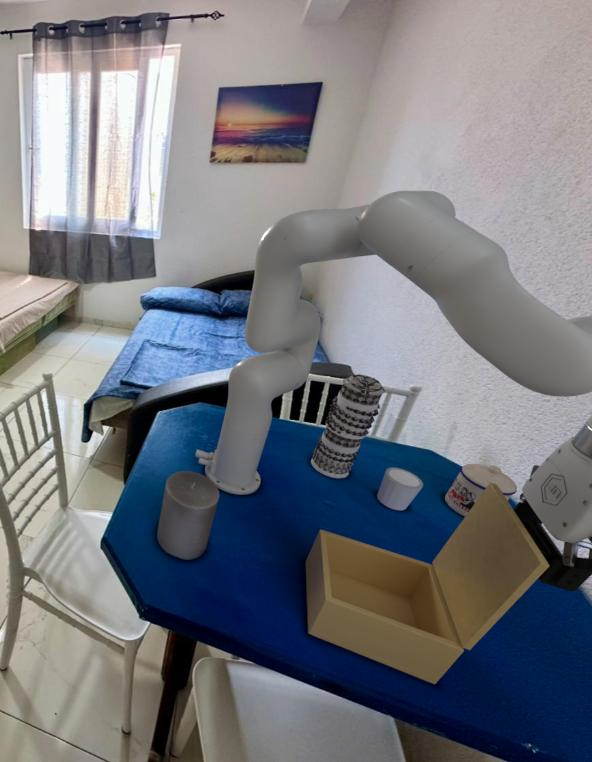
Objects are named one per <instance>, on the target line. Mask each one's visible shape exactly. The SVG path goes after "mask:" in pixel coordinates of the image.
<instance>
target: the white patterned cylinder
mask: <svg viewBox="0 0 592 762" xmlns="http://www.w3.org/2000/svg"><path fill="white" fill-rule="evenodd" d="M385 392H386V389H385V388H384V387H383V386H382V383H381V382H380V381H379V380H378V379H376V378H374V377H372V376H369V375H365V374H352V375H351V376H349V377H345V378H343V379H342V386H341V389H340V390H339V391H338V394H337V396H335V397H334V398H333V399H332V402H331V404H330V408H329V412H328V413H327V417H326V418H325V419H326V420H325V426H326V427H325V430H324V431H323V433H322V435H321V436H320V437H319V438H318V442H317V444H316V447H315V448H314V451H313V453H312V457H311V460H310V464H311V466H312V467H313V468H314V470H316V471H317V472H319V473H320V474H322V475H323V476H326V477H329V478H333V479H346V478H347V477H348V476H349V475H350V471H352V466H354V465H355V464H354V462H355V460H357V456H358V455H359V451H360V450H359V449H360V447H361V442H362V440H363V439H364V438H366V437H367V435H368V434H369V431H368V430H370V429H371V428H372V427H373V426H372V424H373V423H374V422H375V420H376V419H375V418H374V417H377V415H378V416H379V414H380V413H379V410H381V405H380V400H381V398H382V395H384V394H385Z"/></svg>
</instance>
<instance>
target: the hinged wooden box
mask: <svg viewBox="0 0 592 762" xmlns="http://www.w3.org/2000/svg"><path fill="white" fill-rule="evenodd" d="M305 581H306V586H305V587H306V609H307V613H306V614H307V634H309V635H311V636H313V637H315V638H318V639H321V640H322V641H325V642H328V643H331V644H333V645H336V646H338V647H341V648H343V649H346V650H348V651H351V652H352V653H355V654H358V655H360V656H363V657H366V658H368V659H370V660H373V661H376V662H378V663H380V664H382V665H385V666H388V667H390V668H393V669H396V670H398V671H400V672H402V673H405V674H407V675H410V676H413V677H415V678H418V679H420V680H422V681H425V682H428V683H430V684H433V685H436V684H437V683H438V681H440V679H442V678H443V676H444V675H445V674H446V673H447V672H448V670H449V669H450V668H451V667H452V666H453V665H454V663H455V662H456V661H457V660H458V659H459V657H460V656H461V655H463V653H464V652H465V648H463V647H462V644H461V642H460V639H459V636H458V633H457V630H456V628H455V625H454V622H453V619H452V616H451V614H450V611H449V608H448V605H447V602H446V600H445V597H444V594H443V591H442V588H441V586H440V583H439V580H438V577H437V574H436V572H435V569H434V566H433V564H431V563H428V562H425V561H422V560H419V559H415V558H412V557H409V556H407V555H404V554H403V555H402V554H399V553H396V552H393V551H390V550H387V549H383V548H381V547H378V546H374V545H371V544H369V543H368V544H367V543H365V542H362V541H359V540H355V539H352V538H349V537H346V536H344V535H343V536H342V535H339V534H336V533H333V532H331V531H327V530H324V529H319V531H318V533H317V535H316V537H315V539H314V542H313V545H312V546H311V548H310V551H309V553H308V555H307V557H306V559H305Z"/></svg>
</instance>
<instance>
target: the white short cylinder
mask: <svg viewBox="0 0 592 762" xmlns="http://www.w3.org/2000/svg"><path fill="white" fill-rule="evenodd" d="M423 487H424V483H423V481H422V480H421V479H420V477H419V476H418V475H416V474H414V473H413V472H411V471H408V470H406V469H403V468H399V467H388V468H386V469H385V472H384V475H383V477H382V480H381V483H380V486H379V488H378V492H377V494H376V497H377V500H378V501H379V502H380V503H381V504H382V505H383V506H385V507H387V508H389V509H391V510H395V511H405V510H407V508H408V507H409V505H410V504H411V503H412V502H413V500H415V498H416V496H417V495H418V494H419V492H421V490H422V488H423Z"/></svg>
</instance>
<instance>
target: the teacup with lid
mask: <svg viewBox="0 0 592 762" xmlns="http://www.w3.org/2000/svg"><path fill="white" fill-rule="evenodd" d="M459 470H460V472H459V473H458V475H457V477H456V478H455V479H454V481H453V483H452V484H451V487H449V489H448V491H447V492H446V494H445V497H444V500H445V502H446V504H447V505H448V507H450V508H451V509H452V510H453V511H454V512H456V513H458V514H459V515H461V516H463V517H465V516H466V515H467V514H468V512H469V511H470V510H471V508H472V507H473V505H474V504H475V503H476V501H477V500H478V499H479V497H480V496H481V494H482V493H483V492H484V490H485V489H486V488H487V486H488V485H489V483H494V484H497V485H498V487H499V488H500V490H501V492H502V493H503V495H504V496H505V498H506V499H507V501H508V502H509V500H510V499H511V498H512V496H513V495H515V494H516V493H517V490H518V486H517V484H516V482H515V481H514V480H513V479H512V478H511V477H510V476H508V475H507V474H505V473H504V472H502V469H501V468H500V467H499V466H497V465H492V464H491V465H490V464H489V465H483V464H478V463H467V464H464V465H463V466H461V467H460V469H459Z"/></svg>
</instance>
